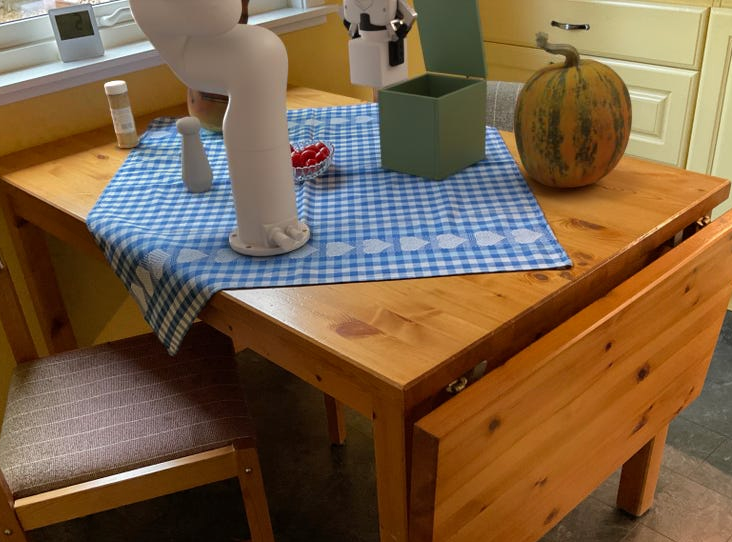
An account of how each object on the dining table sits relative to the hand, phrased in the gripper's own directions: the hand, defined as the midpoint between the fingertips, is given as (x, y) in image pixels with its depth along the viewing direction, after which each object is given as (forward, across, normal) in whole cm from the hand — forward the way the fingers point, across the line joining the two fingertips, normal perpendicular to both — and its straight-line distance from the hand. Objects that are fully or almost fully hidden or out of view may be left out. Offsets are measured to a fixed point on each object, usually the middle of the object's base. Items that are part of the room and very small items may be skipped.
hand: (378, 62), depth 134 cm
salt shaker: (+20, -26, -22) cm, 40 cm away
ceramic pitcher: (+21, -51, +9) cm, 56 cm away
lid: (-2, +3, +16) cm, 17 cm away
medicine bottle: (+4, 0, 0) cm, 4 cm away
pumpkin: (+21, +29, +15) cm, 38 cm away
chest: (+21, +3, +11) cm, 23 cm away
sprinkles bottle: (+21, -62, -13) cm, 67 cm away
